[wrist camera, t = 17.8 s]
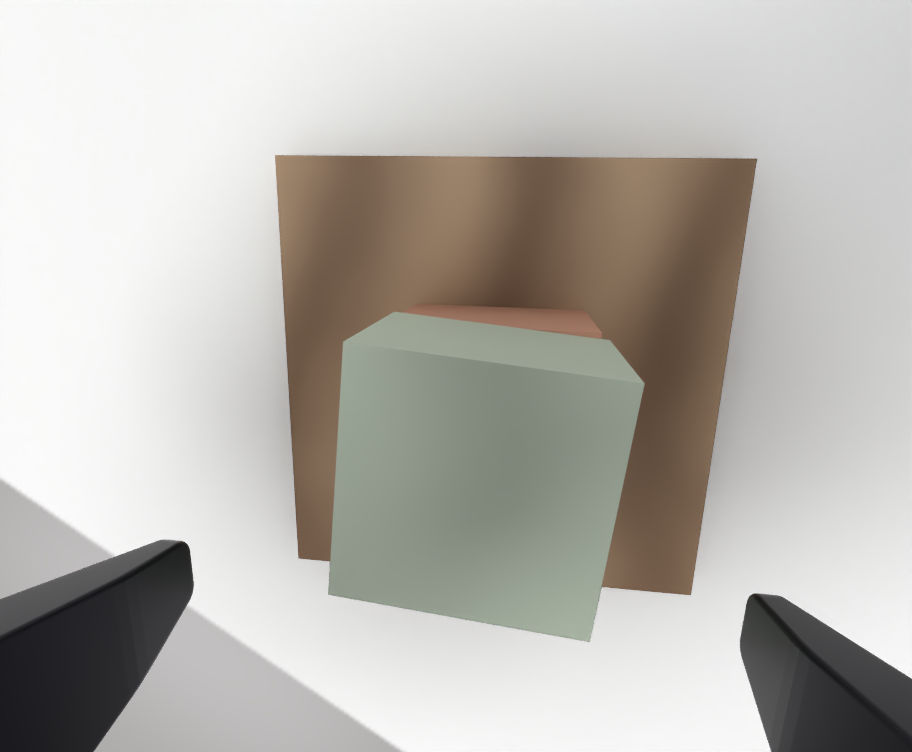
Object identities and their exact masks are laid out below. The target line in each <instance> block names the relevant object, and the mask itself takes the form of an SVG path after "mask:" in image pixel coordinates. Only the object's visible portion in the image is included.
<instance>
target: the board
mask: <svg viewBox="0 0 912 752" xmlns="http://www.w3.org/2000/svg"><path fill="white" fill-rule="evenodd" d="M275 160H276V177H277V194H278V211H279V229H280V246H281V263H282V280H283V298H284V315H285V332H286V349H287V367H288V384H289V401H290V418H291V436H292V453H293V470H294V487H295V505H296V522H297V539H298V556H299V558H300V559H311V560H322V561H330V557H331V540H332V523H333V506H334V489H335V472H336V455H337V438H338V421H339V404H340V387H341V370H342V353H343V342H344V341H345V340H347V339H349V338H350V337H352V336H354V335H355V334H357V333H359V332H361V331H362V330H364V329H366V328H367V327H369V326H371V325H372V324H374V323H376V322H378V321H379V320H381V319H383V318H384V317H386V316H388V315H390V314H391V313H393V312H401V313H402V312H404V311H406V310H407V309H409V308H410V307H412V306H414V305H415V304H436V305H461V306H487V307H512V308H538V309H563V310H585V311H586V313H587V314H588V315H589V317H590V318H591V319H592V320H593V322H594V323H595V324H596V326H597V327H598V328H599V329H600V331H601V332H602V337H601V339H606V340H610V341H611V342H612V343H613V345H614V346H615V347H616V348H617V350H618V351H619V352H620V353H621V355H622V356H623V357H624V358H625V360H626V361H627V362H628V363H629V365H630V366H631V367H632V368H633V370H634V371H635V372H636V373H637V375H638V376H639V377H640V378H641V380H642V381H643V382H644V383H645V384H644V389H643V393H642V398H641V403H640V407H639V412H638V417H637V422H636V426H635V431H634V436H633V440H632V445H631V450H630V455H629V459H628V464H627V469H626V473H625V478H624V483H623V488H622V492H621V497H620V502H619V506H618V511H617V516H616V521H615V525H614V530H613V535H612V539H611V544H610V549H609V553H608V558H607V563H606V568H605V572H604V577H603V582H602V586H601V587H609V588H620V589H630V590H641V591H652V592H662V593H673V594H684V595H691V590H692V583H693V577H694V570H695V563H696V557H697V550H698V544H699V537H700V531H701V524H702V517H703V511H704V504H705V498H706V491H707V484H708V478H709V471H710V465H711V458H712V451H713V445H714V438H715V432H716V425H717V419H718V412H719V405H720V399H721V392H722V386H723V379H724V372H725V366H726V359H727V353H728V346H729V339H730V333H731V326H732V320H733V313H734V307H735V300H736V293H737V287H738V280H739V274H740V267H741V260H742V254H743V247H744V241H745V234H746V227H747V221H748V214H749V208H750V201H751V195H752V188H753V181H754V175H755V168H756V162H757V159H721V158H576V157H430V156H285V155H275Z"/></svg>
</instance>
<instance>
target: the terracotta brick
mask: <svg viewBox="0 0 912 752" xmlns="http://www.w3.org/2000/svg"><path fill="white" fill-rule="evenodd" d="M402 313H409V314H417V315H424V316H432V317H439V318H447V319H454V320H462V321H470V322H477V323H485V324H492V325H500V326H507V327H515V328H523V329H530V330H538V331H545V332H553V333H560V334H568V335H576V336H583V337H591V338H598V339H601V337H602V332H601V331H600V329H599V328H598V327H597V326H596V324H595V323H594V322H593V320H592V319H591V318H590V317H589V315H588V314H587V313H586V311H585V310H563V309H538V308H512V307H487V306H461V305H436V304H415V305H414V306H412V307H410V308H409V309H407V310H406V311H404V312H402Z"/></svg>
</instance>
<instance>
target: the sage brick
mask: <svg viewBox="0 0 912 752" xmlns="http://www.w3.org/2000/svg"><path fill="white" fill-rule="evenodd" d="M644 384H645V383H644V382H643V381H642V380H641V378H640V377H639V376H638V375H637V373H636V372H635V371H634V370H633V368H632V367H631V366H630V365H629V363H628V362H627V361H626V360H625V358H624V357H623V356H622V355H621V353H620V352H619V351H618V350H617V348H616V347H615V346H614V345H613V343H612V342H611V341H610V340H606V339H598V338H591V337H583V336H576V335H568V334H560V333H553V332H545V331H538V330H530V329H523V328H515V327H507V326H500V325H492V324H485V323H477V322H470V321H462V320H454V319H447V318H439V317H432V316H424V315H417V314H409V313H401V312H393V313H391V314H390V315H388V316H386V317H384V318H383V319H381V320H379V321H378V322H376V323H374V324H372V325H371V326H369V327H367V328H366V329H364V330H362V331H361V332H359V333H357V334H355V335H354V336H352V337H350V338H349V339H347V340H345V341H344V342H343V353H342V370H341V387H340V404H339V421H338V438H337V455H336V472H335V489H334V506H333V523H332V540H331V557H330V574H329V591H328V595H334V596H339V597H345V598H350V599H356V600H361V601H367V602H372V603H378V604H383V605H389V606H394V607H400V608H405V609H411V610H416V611H422V612H427V613H433V614H438V615H444V616H449V617H455V618H460V619H466V620H471V621H477V622H482V623H488V624H493V625H499V626H504V627H510V628H515V629H521V630H526V631H532V632H537V633H543V634H548V635H554V636H559V637H565V638H570V639H576V640H581V641H587V642H590V638H591V634H592V629H593V624H594V619H595V615H596V610H597V605H598V601H599V596H600V591H601V586H602V582H603V577H604V572H605V568H606V563H607V558H608V553H609V549H610V544H611V539H612V535H613V530H614V525H615V521H616V516H617V511H618V506H619V502H620V497H621V492H622V488H623V483H624V478H625V473H626V469H627V464H628V459H629V455H630V450H631V445H632V440H633V436H634V431H635V426H636V422H637V417H638V412H639V407H640V403H641V398H642V393H643V389H644Z"/></svg>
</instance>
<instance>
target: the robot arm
mask: <svg viewBox="0 0 912 752" xmlns="http://www.w3.org/2000/svg"><path fill="white" fill-rule="evenodd" d="M193 587H194V582H193V573H192V564H191V556H190V549H189V546H188V545H187V544H186V543H185V542H183V541H175V540H159V541H156V542H154V543H151V544H148V545H145V546H143V547H140V548H137V549H135V550H132V551H129V552H127V553H124V554H121V555H118V556H116V557H113V558H110V559H108V560H105V561H102V562H99V563H97V564H94V565H91V566H89V567H86V568H83V569H81V570H78V571H75V572H73V573H70V574H67V575H65V576H62V577H59V578H56V579H54V580H51V581H48V582H46V583H43V584H40V585H37V586H35V587H32V588H29V589H26V590H24V591H21V592H18V593H16V594H13V595H11V596H8V597H5V598H2V599H0V752H93V751H94V750H95V749H96V748H97V746H98V745H99V743H100V742H101V741H102V739H103V738H104V736H105V735H106V733H107V732H108V731H109V729H110V728H111V726H112V725H113V723H114V722H115V721H116V719H117V718H118V716H119V715H120V714H121V712H122V711H123V709H124V708H125V706H126V705H127V704H128V702H129V701H130V699H131V698H132V696H133V695H134V693H135V692H136V690H137V689H138V687H139V686H140V684H141V683H142V681H143V680H144V678H145V676H146V675H147V673H148V671H149V670H150V668H151V666H152V665H153V663H154V661H155V659H156V658H157V656H158V654H159V653H160V651H161V649H162V647H163V646H164V644H165V642H166V640H167V639H168V637H169V635H170V634H171V632H172V630H173V628H174V626H175V625H176V623H177V621H178V620H179V618H180V616H181V615H182V613H183V611H184V609H185V608H186V606H187V604H188V602H189V601H190V598H191V596H192V593H193ZM740 651H741V656H742V660H743V663H744V666H745V669H746V672H747V676H748V679H749V682H750V685H751V688H752V692H753V695H754V698H755V701H756V705H757V708H758V711H759V714H760V717H761V721H762V724H763V727H764V730H765V733H766V737H767V740H768V743H769V746H770V749H771V752H912V679H911V678H910V677H908V676H906V675H905V674H903V673H902V672H900V671H898V670H897V669H895V668H894V667H892V666H891V665H889V664H887V663H886V662H884V661H883V660H881V659H879V658H878V657H876V656H875V655H873V654H872V653H870V652H868V651H867V650H865V649H864V648H862V647H861V646H859V645H857V644H856V643H854V642H853V641H851V640H849V639H848V638H846V637H845V636H843V635H842V634H840V633H838V632H837V631H835V630H834V629H832V628H831V627H829V626H827V625H826V624H824V623H823V622H821V621H820V620H818V619H816V618H815V617H813V616H812V615H810V614H808V613H807V612H805V611H804V610H802V609H801V608H799V607H797V606H796V605H794V604H793V603H791V602H790V601H788V600H786V599H785V598H783V597H781V596H778V595H767V594H752V595H751V596H750V597H749V599H748V601H747V604H746V610H745V615H744V621H743V626H742V632H741V637H740Z"/></svg>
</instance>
